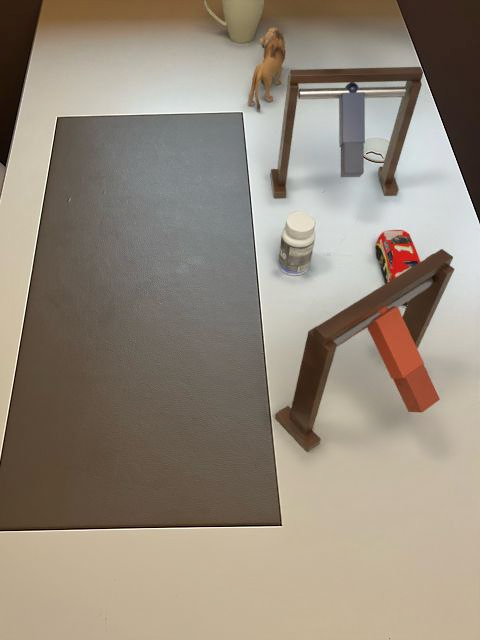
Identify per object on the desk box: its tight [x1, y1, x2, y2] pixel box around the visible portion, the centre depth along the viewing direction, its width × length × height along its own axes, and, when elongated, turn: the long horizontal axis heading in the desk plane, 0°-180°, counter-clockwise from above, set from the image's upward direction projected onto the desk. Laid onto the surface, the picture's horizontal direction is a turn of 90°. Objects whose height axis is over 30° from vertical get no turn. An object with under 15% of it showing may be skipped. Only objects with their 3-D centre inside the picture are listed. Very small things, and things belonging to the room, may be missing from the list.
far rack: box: [269, 66, 424, 199], centre depth 95 cm, size 6×20×19 cm, turn 91°
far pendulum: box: [297, 82, 406, 178], centre depth 90 cm, size 2×15×13 cm
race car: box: [375, 229, 421, 305], centre depth 90 cm, size 13×5×4 cm, turn 2°
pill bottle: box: [277, 211, 316, 277], centre depth 89 cm, size 5×5×8 cm
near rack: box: [274, 248, 455, 453], centre depth 72 cm, size 6×20×19 cm, turn 126°
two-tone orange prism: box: [333, 277, 440, 413], centre depth 67 cm, size 2×15×13 cm
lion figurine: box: [247, 27, 286, 112], centre depth 115 cm, size 15×5×9 cm, turn 167°
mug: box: [203, 0, 266, 44], centre depth 125 cm, size 11×10×12 cm
